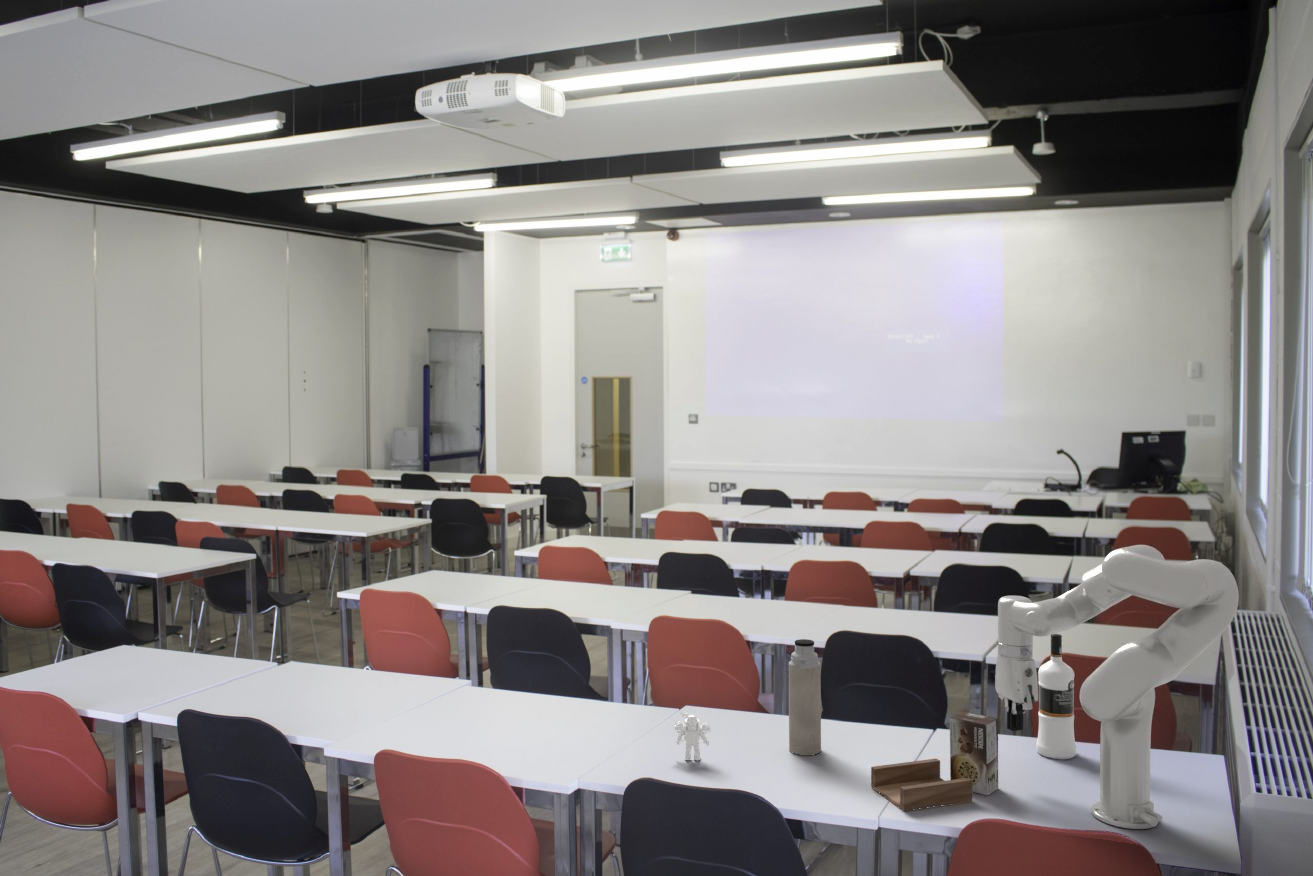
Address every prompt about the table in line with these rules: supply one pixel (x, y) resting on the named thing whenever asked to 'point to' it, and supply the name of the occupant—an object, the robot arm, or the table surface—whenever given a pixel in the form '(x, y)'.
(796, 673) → the thermos bottle
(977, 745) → the coffee box
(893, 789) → the u rest
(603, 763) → the table surface
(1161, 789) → the table surface
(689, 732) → the blocky character figurine
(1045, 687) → the vodka
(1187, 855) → the table surface
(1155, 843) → the table surface
